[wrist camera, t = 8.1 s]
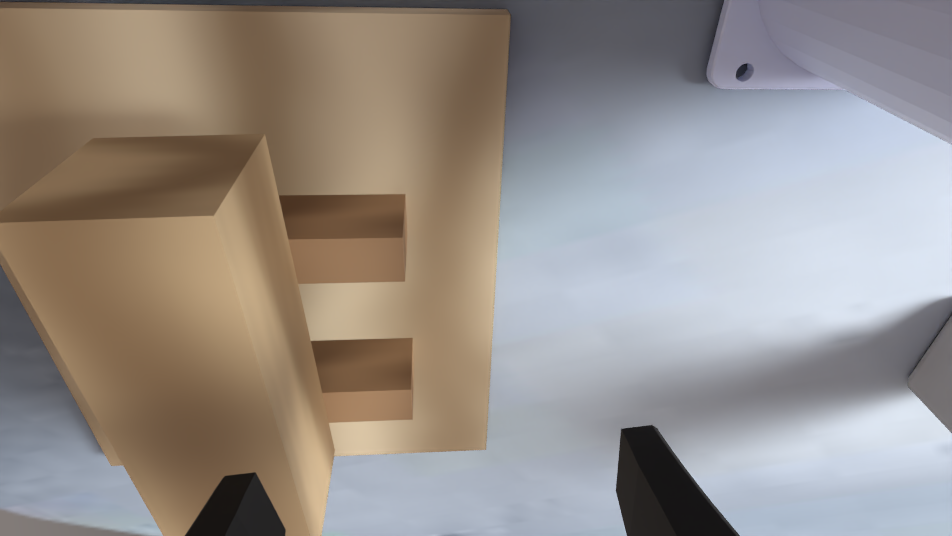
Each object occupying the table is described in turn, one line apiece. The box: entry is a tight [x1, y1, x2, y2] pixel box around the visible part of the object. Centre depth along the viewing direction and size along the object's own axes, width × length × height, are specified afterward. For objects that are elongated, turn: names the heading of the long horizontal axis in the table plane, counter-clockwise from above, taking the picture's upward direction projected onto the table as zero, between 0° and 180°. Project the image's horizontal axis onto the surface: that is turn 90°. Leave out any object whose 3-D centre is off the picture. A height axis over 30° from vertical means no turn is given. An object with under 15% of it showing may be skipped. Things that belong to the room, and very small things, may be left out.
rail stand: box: [0, 2, 511, 466], centre depth 19 cm, size 16×18×3 cm
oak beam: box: [0, 134, 335, 536], centre depth 15 cm, size 4×12×4 cm, turn 0°
